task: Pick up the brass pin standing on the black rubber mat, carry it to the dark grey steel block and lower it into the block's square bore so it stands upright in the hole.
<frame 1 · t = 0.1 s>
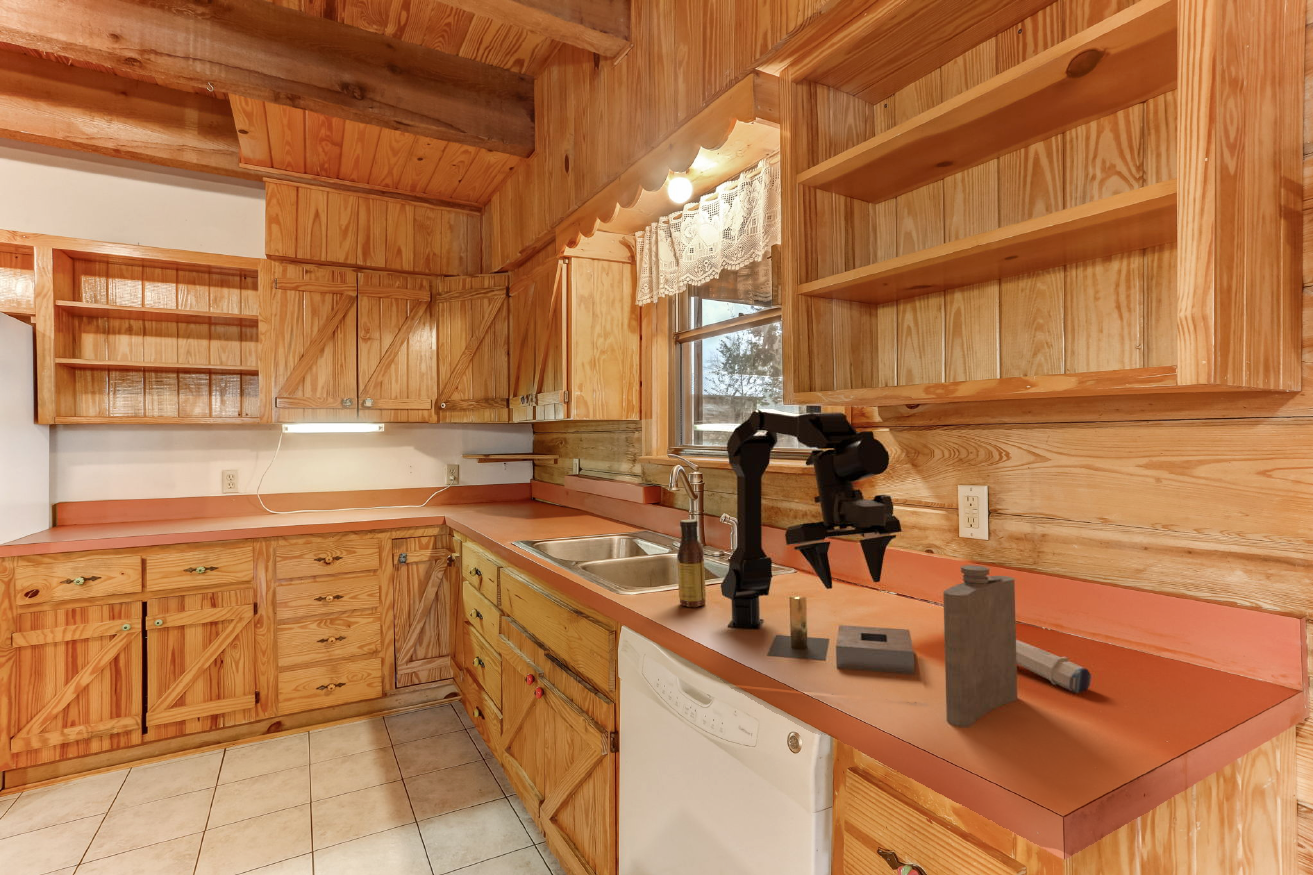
hand: (853, 585, 100), 15 cm above the worktop, tool pointing down, fingers open, 9 cm apart
hip flask: (980, 709, 90), on the worktop
sauce bottle: (692, 605, 149), on the worktop
pin: (799, 646, 117), resting on mat
flashlight: (1008, 668, 106), on the worktop
block: (874, 660, 110), on the worktop
mat: (799, 648, 117), on the worktop
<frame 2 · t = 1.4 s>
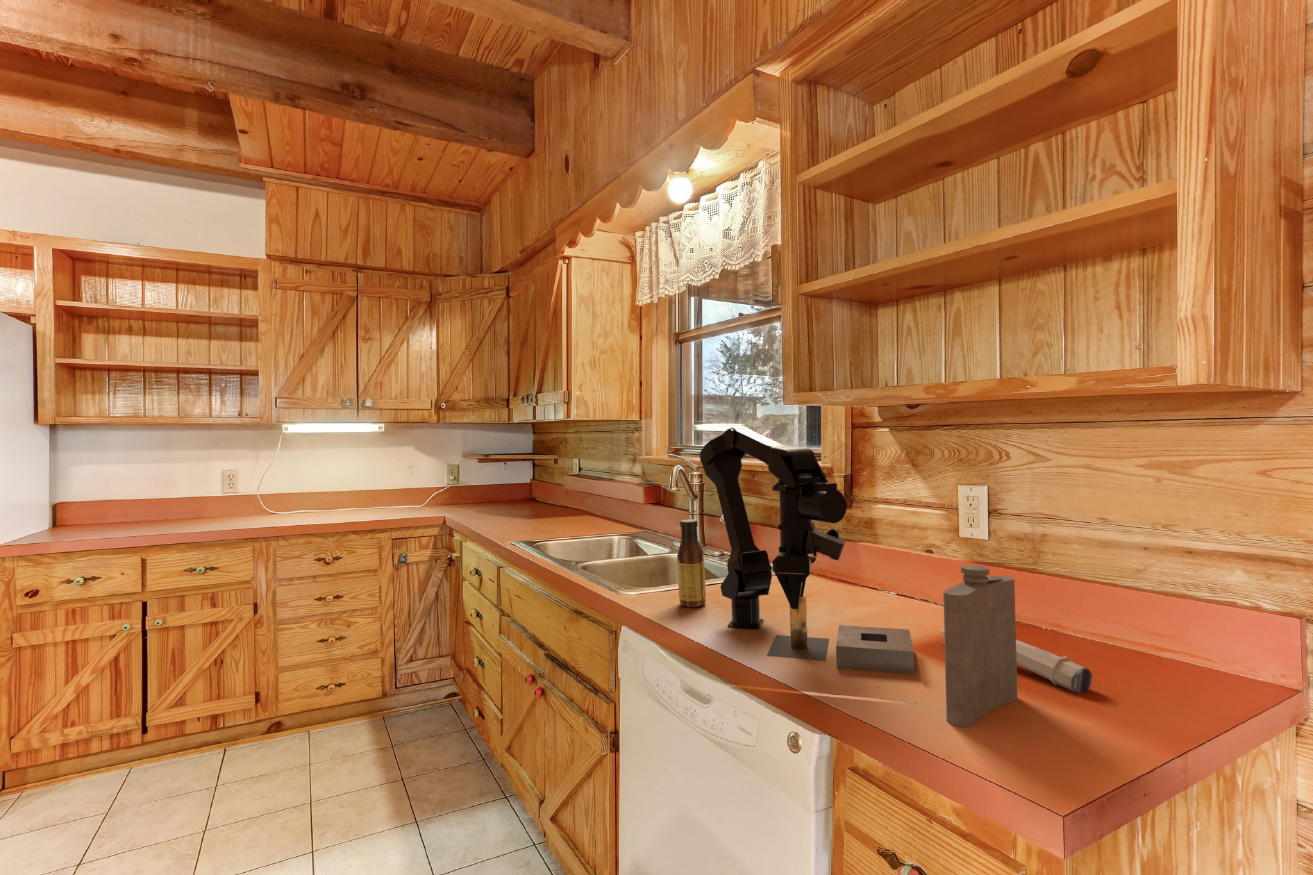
hand: (797, 602, 117), 9 cm above the worktop, tool pointing down, fingers open, 9 cm apart
nothing on the worktop moved.
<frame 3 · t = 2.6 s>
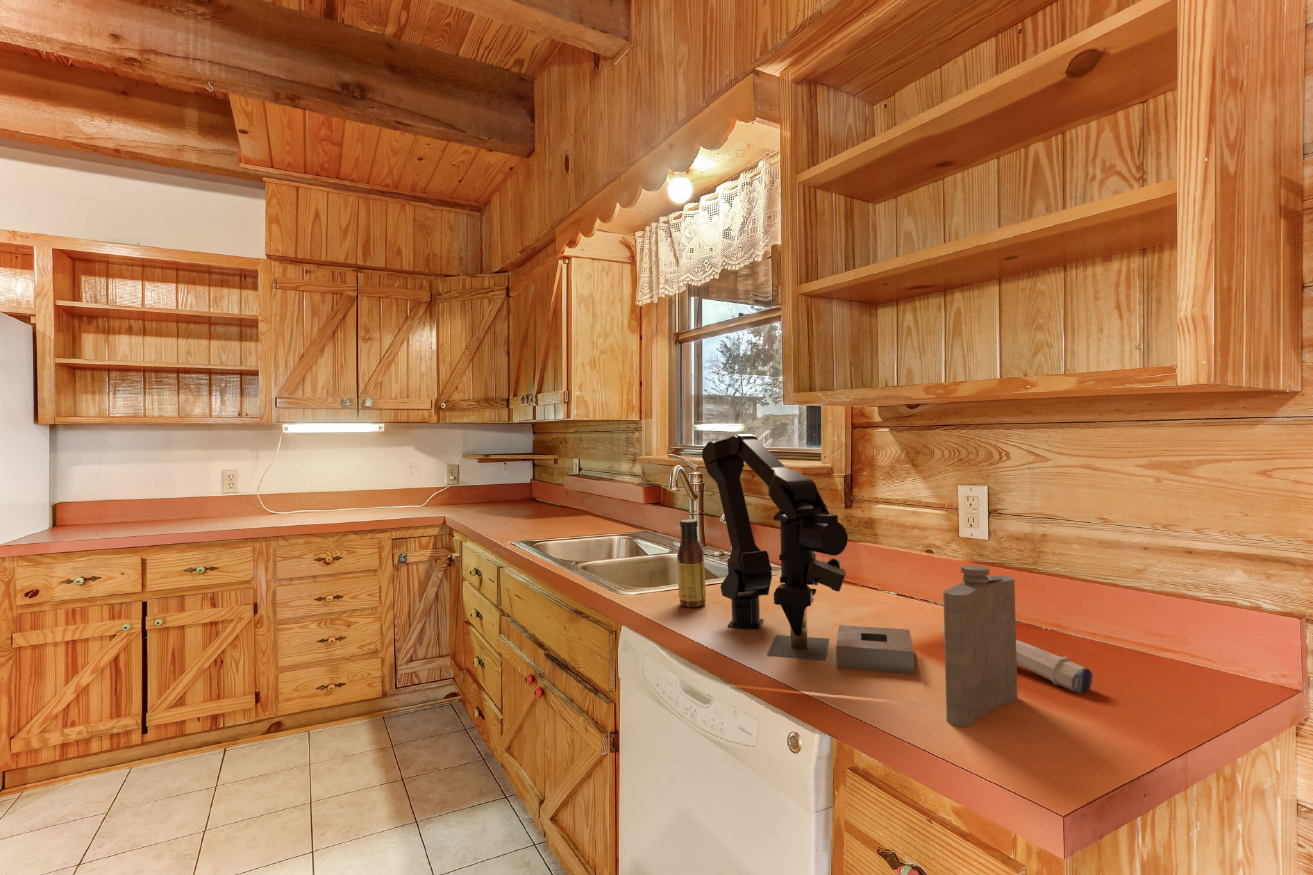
hand: (798, 632, 117), 3 cm above the worktop, tool pointing down, fingers closed on pin, 3 cm apart
pin: (799, 646, 117), resting on mat, touching gripper
everything else where it was.
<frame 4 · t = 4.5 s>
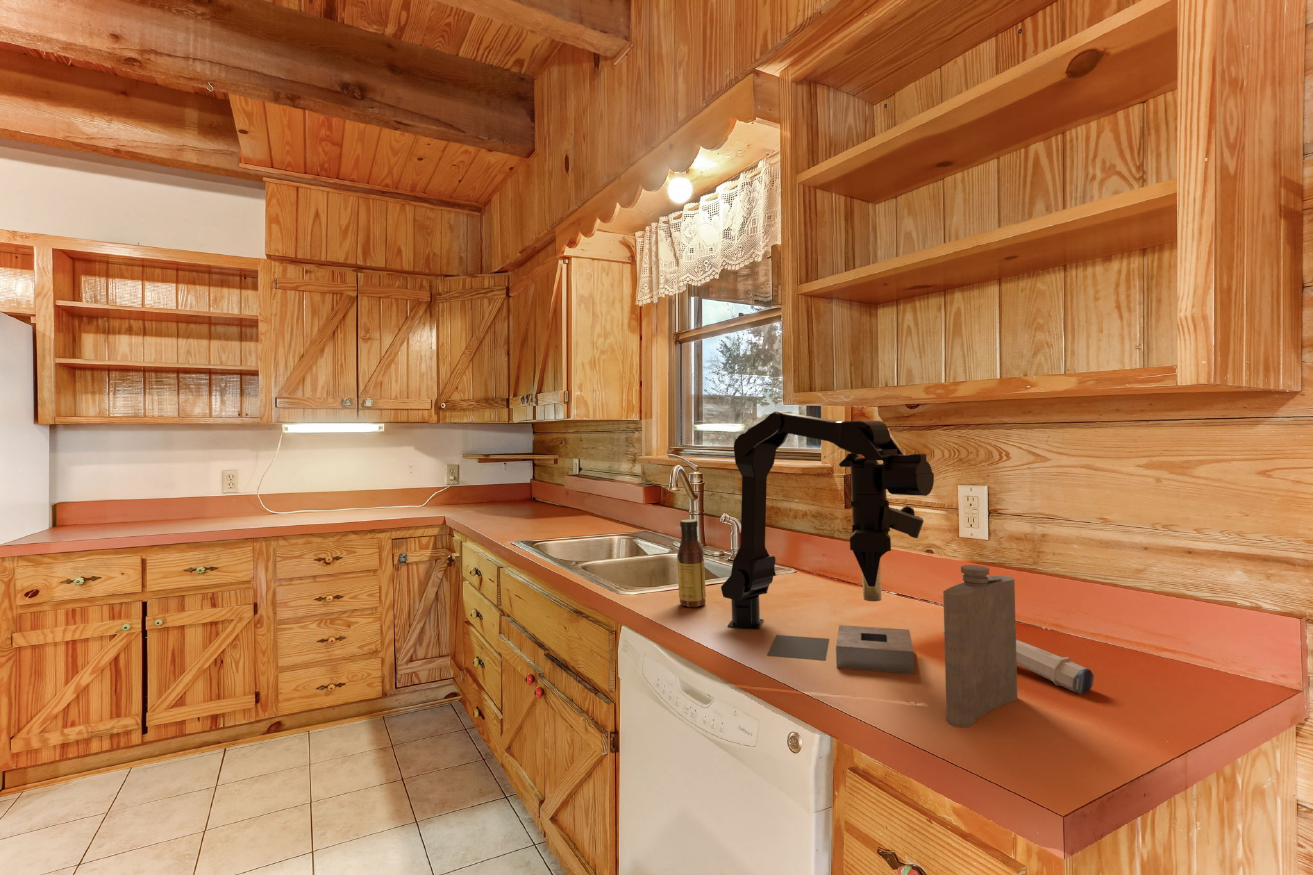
hand: (871, 584, 110), 13 cm above the worktop, tool pointing down, fingers closed on pin, 3 cm apart
pin: (872, 599, 110), point 11 cm above the worktop, touching gripper
everything else where it was.
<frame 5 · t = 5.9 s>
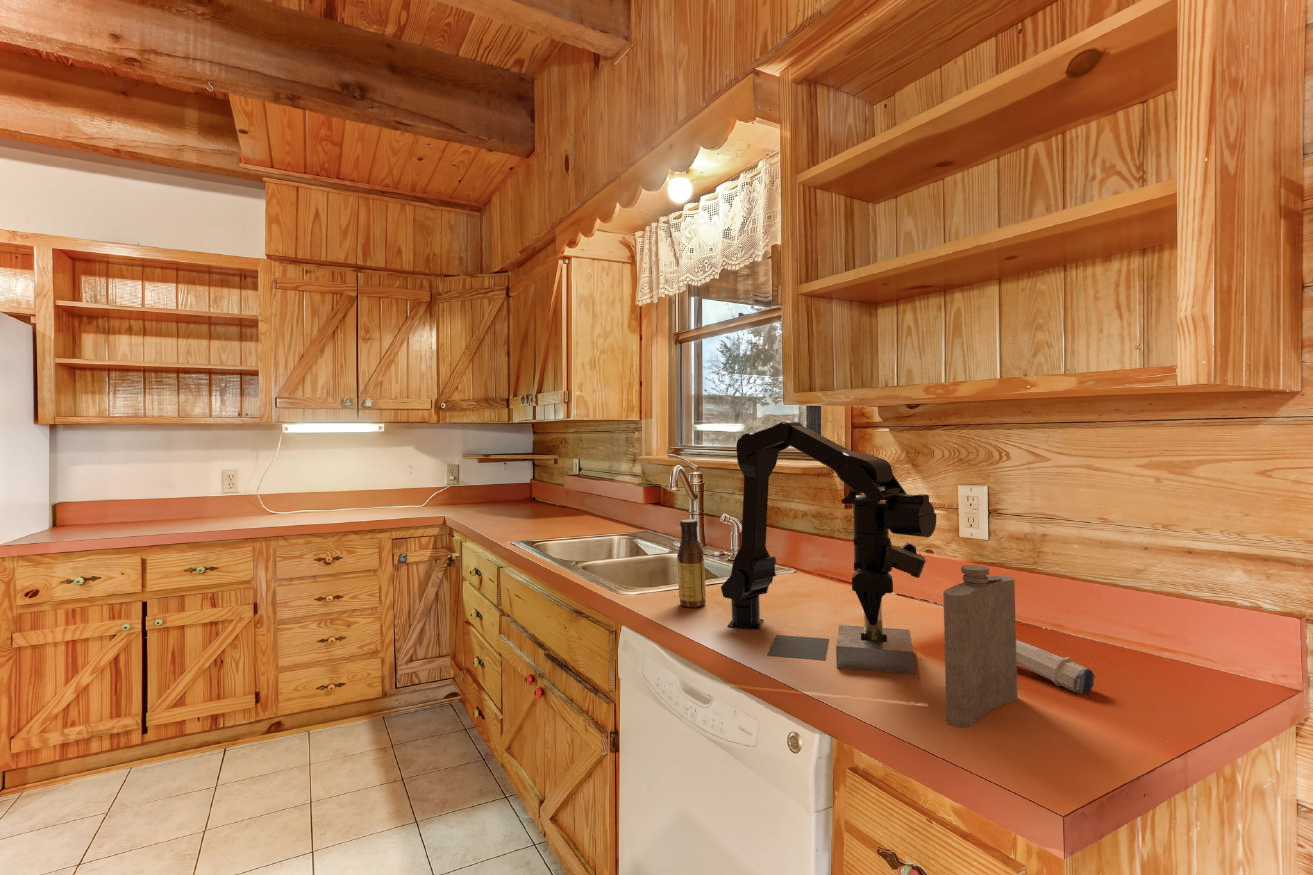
hand: (873, 621, 110), 7 cm above the worktop, tool pointing down, fingers closed on pin, 3 cm apart
pin: (873, 636, 110), point 4 cm above the worktop, touching gripper
everything else where it was.
when the fingers open (4 cm above the worktop, at t = 6.7 s): pin drops 2 cm, resting in block.
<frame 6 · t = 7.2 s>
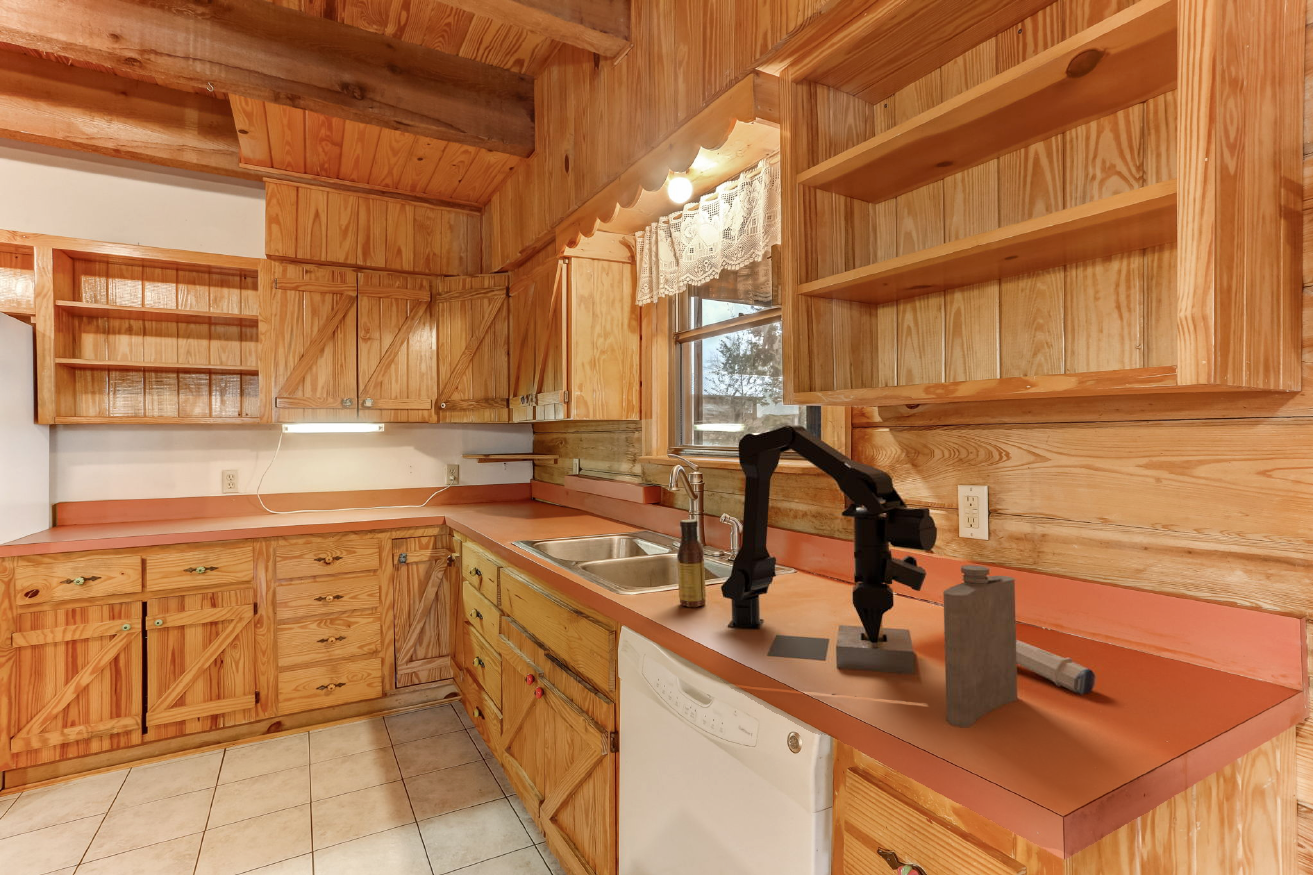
hand: (873, 634, 110), 4 cm above the worktop, tool pointing down, fingers open, 8 cm apart
pin: (874, 660, 110), resting in block
everything else where it was.
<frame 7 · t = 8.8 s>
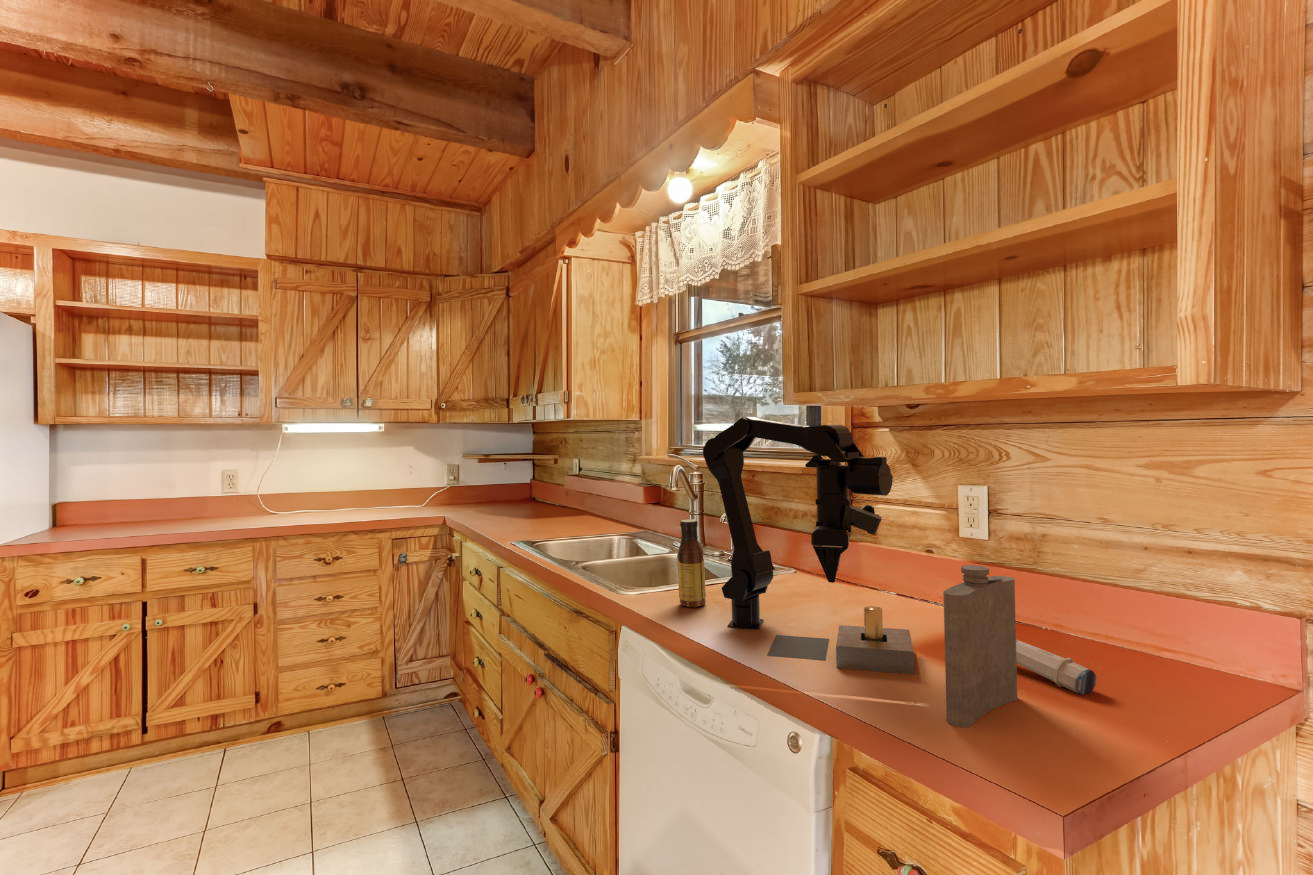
hand: (833, 576, 119), 13 cm above the worktop, tool pointing down, fingers open, 9 cm apart
nothing on the worktop moved.
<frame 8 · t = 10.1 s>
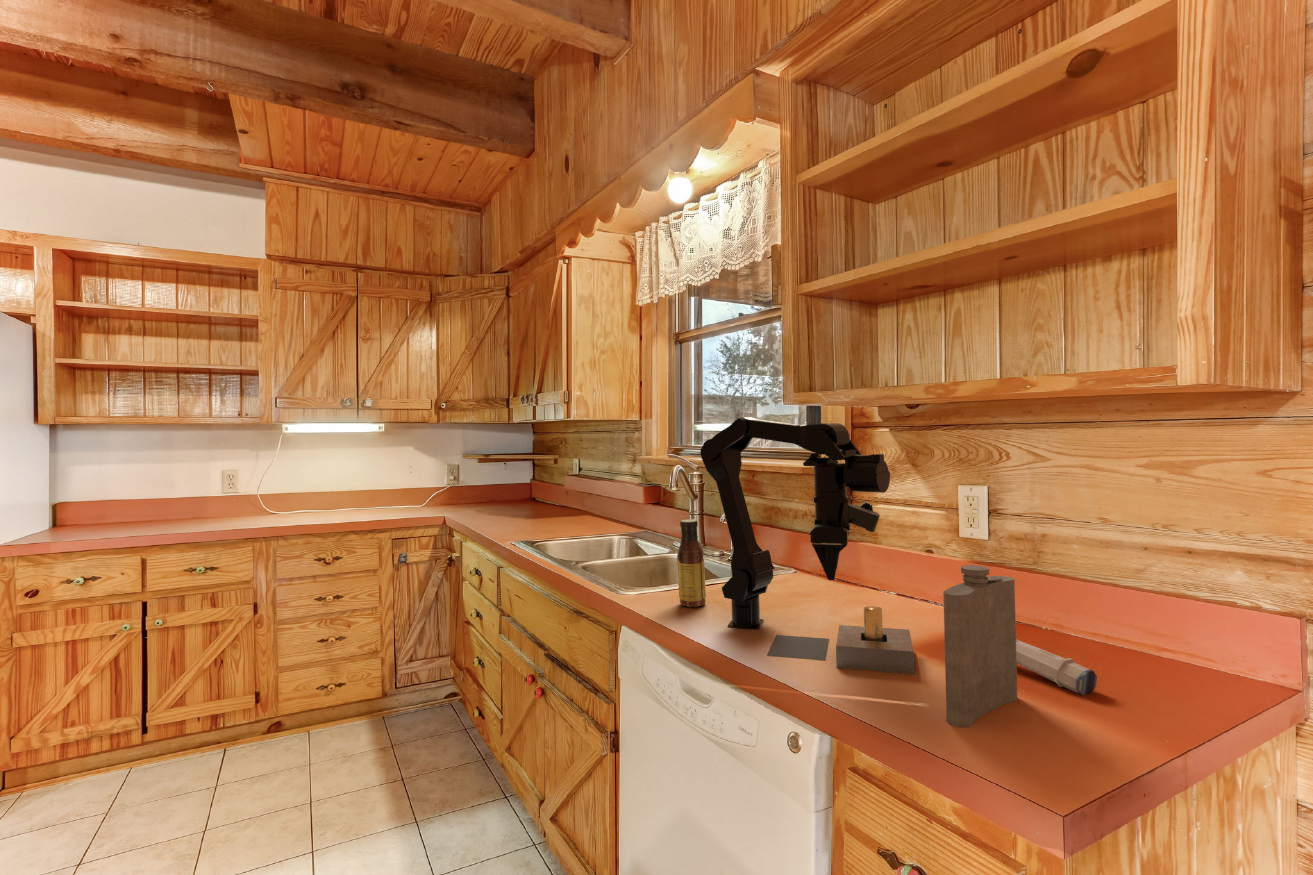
hand: (832, 574, 119), 13 cm above the worktop, tool pointing down, fingers open, 9 cm apart
nothing on the worktop moved.
at the end: pin 0.0 cm off-centre on the block, point 0.0 cm above the block's base; pin tilted 0°; the gripper is holding nothing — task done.
